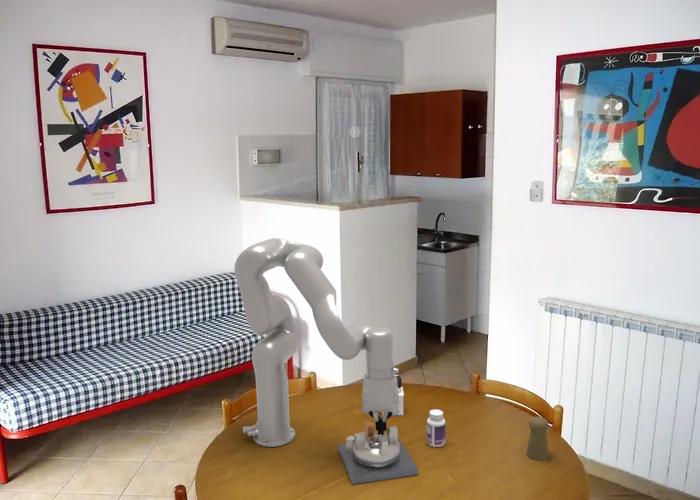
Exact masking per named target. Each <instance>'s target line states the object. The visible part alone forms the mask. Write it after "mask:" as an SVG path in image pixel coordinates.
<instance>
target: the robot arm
mask: <svg viewBox="0 0 700 500" xmlns="http://www.w3.org/2000/svg"><path fill="white" fill-rule="evenodd" d="M323 266H324V257H323V254H322V253H321V252H320V251H319V249H318V248H316V247H315V246H311V245H309V244H304V243H301V242H295V241H292V240H287V239H283V238H275V237H272V238H269V239H266V240H263V241H259V242H257V243H254V244H252V245H250V246H248V247H247V248H245V249H244V250H242V251H241V252H240V253H239V255H238V256H237V258H236V260H235V263H234V276H235V279H236V283H237V286H238V289H239V293H240V295H241V296H240V297H241V301H242V306H243V308H244V312H245V316H246V317H245V318H246V322H247V324H248V327H249V329H250V330H251V331H252V332H253V333H254V334H255V335H260V336H261V335H266V334H267V335H266V336H264V338H262V339H260V340H259V341H258V342H257V343H256V344H255V346H254V347H253V350H252V353H251V361H252V366H253V371H254V376H255V377H254V378H255V389H256V390H255V391H256V409H257V420H256V421H255V422H256V424H253V425H251V426H249V425H248V426H242V433H243V434H247V437H250V436H252V437H253V441H254V442H255V443H256V444H257V445H259V446H262V447H266V448H267V447H268V448H272V447H273V448H275V447H276V448H277V447H281V446H284V445H287V444H290V442H292V441H293V440H294V439H295V437H296V431H295V429H294V428H293V427H292V426H290V424H291V423H290V401H289V399H290V398H289V378H288V374H287V372H286V368H285V364H286V362H287V361H288V360H290V359H291V357H293V356H294V355H295V354H296V352H297V350H298V348H299V338H298V334H297V333H298V332H297V330H296V326H295V322H294V319H293V315H292V311H291V308H290V305H289V304H288V302H287V300H286V299H284V298H283V297H282V296H281V295H277V294H271V289H270V286H269V283H268V281H267V280H266V278H265V276H264V274H265V273H266V272H268V271H271V270H273V269H275V268H278V267H282V268H284V271H285V274H286V275H287V276H288V277H289V279H290V280H291V282H292V283H293V284H294V286H295V287H296V289H297V290H298V291H299V293H300V295H302V297H303V298H304V300H305V301H306V303H307V304H308V305H309V307H310V308H311V311H312V316H313V319H314V322H315V326H316V328H317V330H318V332H319V334H320V336H321V338H322V340H323V341H324V343H325V344H326V345H327V346H328V348H329V349H330V350H331V352H332V353H333V354H334V355H335V356H336V357H338V358H340V359H341V360H344V361H345V360H346V361H349V360H353V359H355V358H356V357H357V356H358V355H359V354H360V353H361V352H362V351H365V363H366V364H365V365H366V366H365V367H366V369H365V370H366V373H365V374H364V377H363V383H362V395H361V396H362V399H361V401H362V403H361V405H362V409H361V413H362V414H364V415H365V414H366V415H368V416H370V417H371V418H372V419H373V420H374V423H375V424H374V425H375V432H376V431H377V434H378V435H380V434H381V435H384V434H385V432H387V421H388V420H389V419H390V418H391V417H392V416H393V417H394V416H400V415H399V413H400V410H399V406H398V405H399V391H398V382H397V377H396V375H397V374H399V372H400V371H399V370H400V369H399V368H398V367H395V366H394V341H393V340H394V339H393V337H394V336H393V332H392V330H391V329H390V328H388V327H383V326H378V327H377V326H376V327H375V326H374V327H373V326H369V325H365V324H362V323H350V324H349V325H348V326H345V324H344V323H343V321H342V320H341V318H340V316H339V314H338V309H337V291H336V289H335V287H334V285H333V284H332V283H331V282H330V280H329V279H328V278H327V276H326V275H325V273H324V271H322V267H323ZM382 412H383V415H382V417H381V416H380V413H382Z"/></svg>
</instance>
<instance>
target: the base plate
mask: <svg viewBox="0 0 700 500" xmlns="http://www.w3.org/2000/svg"><path fill="white" fill-rule="evenodd" d="M353 442H354V435H348V437H346V438H345V443H339V444H337V451H338V454H339V456H340V459H341V461H342V463H343V465H344V468H345V470H346V472H347V475H348V477H349V480H350V482H351V484H352V485H358V484H359V485H360V484H365V483H372V482H379V481H386V480H391V479H399V478H406V477H412V476H418V475H419V468H418V466H417V464H416V463H415V461H414V460H413V458H412V456H411V455H410V454H409V452H408V451H407V449H406V448H405V446H404V444H403V442H401V440H400V439H399V437H398V442H399V444H400V457H399V459H398V460H397V461H396V462H395V463H394V464H391V465H389V466H384V467H369V466H365V465H362V464H360V463H358V462H357V461H356V460H355V459H354V457H353Z"/></svg>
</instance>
